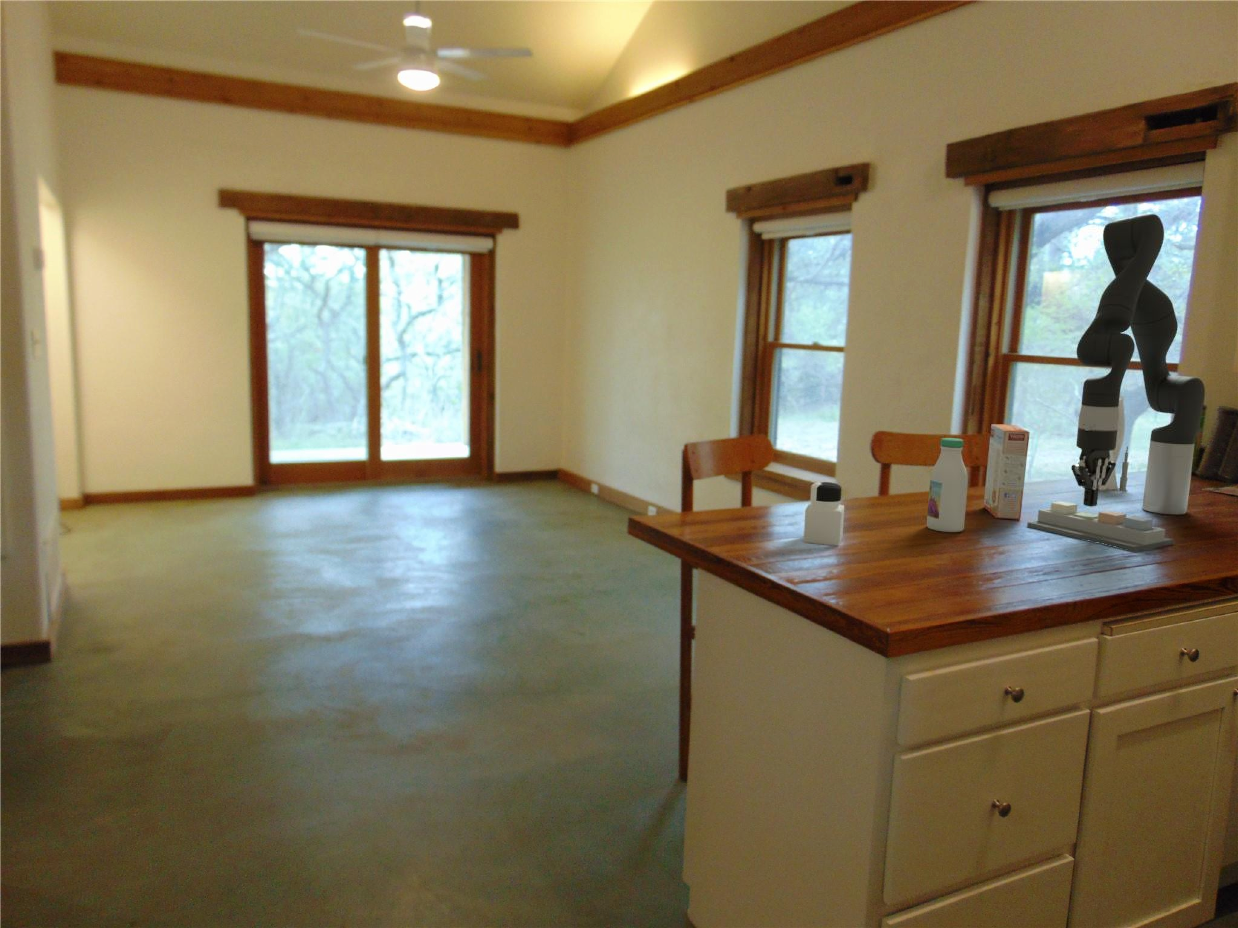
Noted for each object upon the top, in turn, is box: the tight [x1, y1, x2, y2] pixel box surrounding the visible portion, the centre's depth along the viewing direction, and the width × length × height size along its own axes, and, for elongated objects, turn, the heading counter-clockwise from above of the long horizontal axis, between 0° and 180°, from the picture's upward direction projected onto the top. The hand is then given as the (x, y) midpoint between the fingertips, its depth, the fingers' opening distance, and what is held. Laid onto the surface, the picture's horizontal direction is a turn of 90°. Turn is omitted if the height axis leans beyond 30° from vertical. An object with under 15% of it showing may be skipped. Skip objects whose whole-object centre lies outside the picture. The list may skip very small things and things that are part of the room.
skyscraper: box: [1098, 395, 1130, 492], centre depth 244 cm, size 8×8×28 cm
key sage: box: [1074, 512, 1098, 520], centre depth 193 cm, size 4×4×3 cm
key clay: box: [1097, 510, 1127, 525], centre depth 188 cm, size 4×4×3 cm
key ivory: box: [1050, 500, 1079, 515], centre depth 197 cm, size 4×4×3 cm
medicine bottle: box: [803, 481, 845, 547], centre depth 180 cm, size 7×7×12 cm
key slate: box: [1123, 515, 1154, 531], centre depth 183 cm, size 4×4×3 cm
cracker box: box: [983, 423, 1030, 521], centre depth 209 cm, size 14×6×21 cm, turn 168°
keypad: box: [1026, 507, 1174, 553], centre depth 190 cm, size 14×24×4 cm, turn 30°
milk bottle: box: [926, 437, 969, 533], centre depth 192 cm, size 8×8×20 cm
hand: (1089, 505), depth 192 cm, fingers closed
